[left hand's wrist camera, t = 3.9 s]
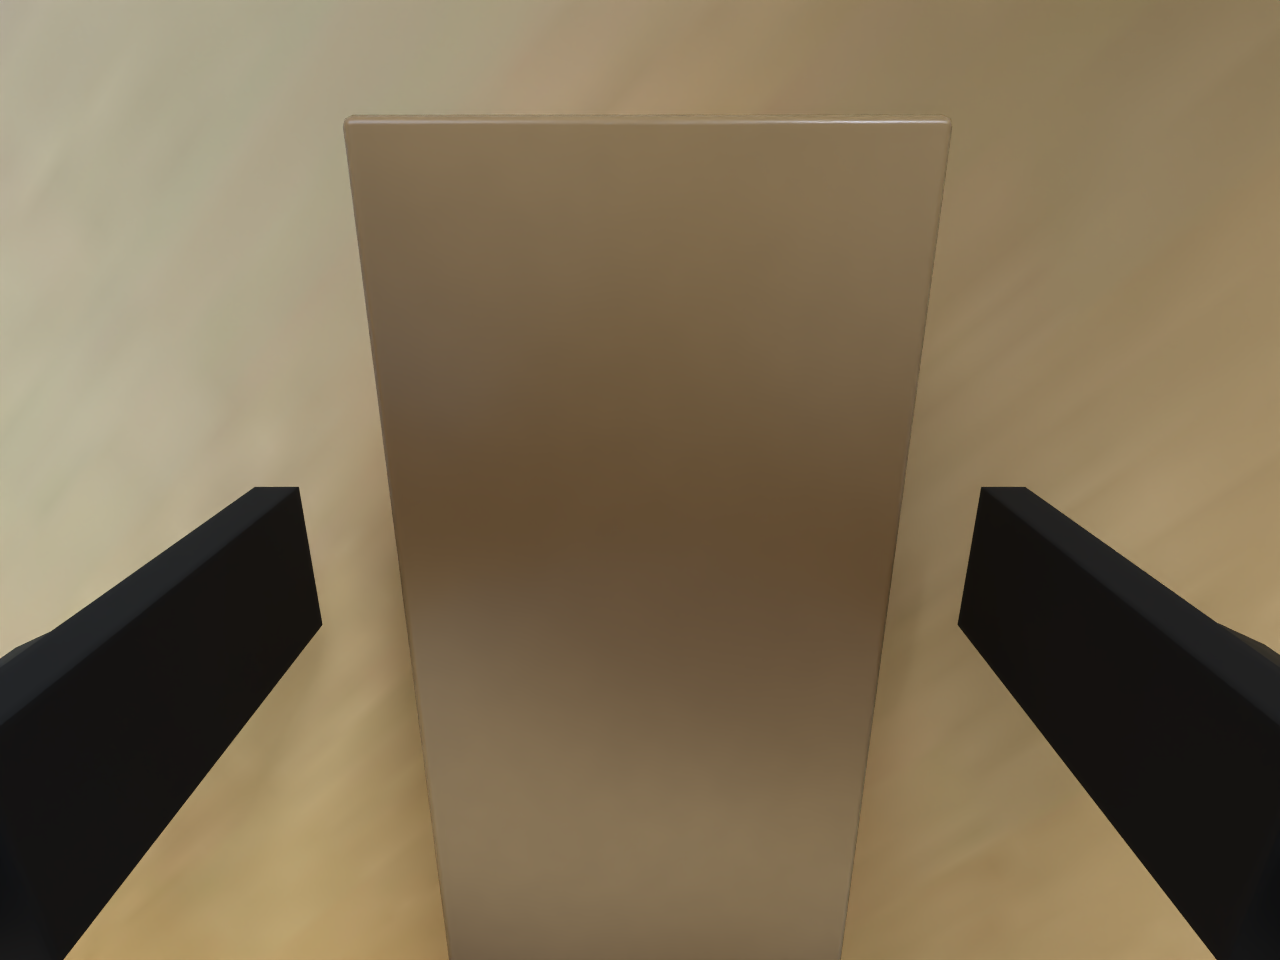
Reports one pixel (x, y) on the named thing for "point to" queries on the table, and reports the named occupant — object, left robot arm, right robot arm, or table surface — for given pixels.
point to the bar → (646, 506)
